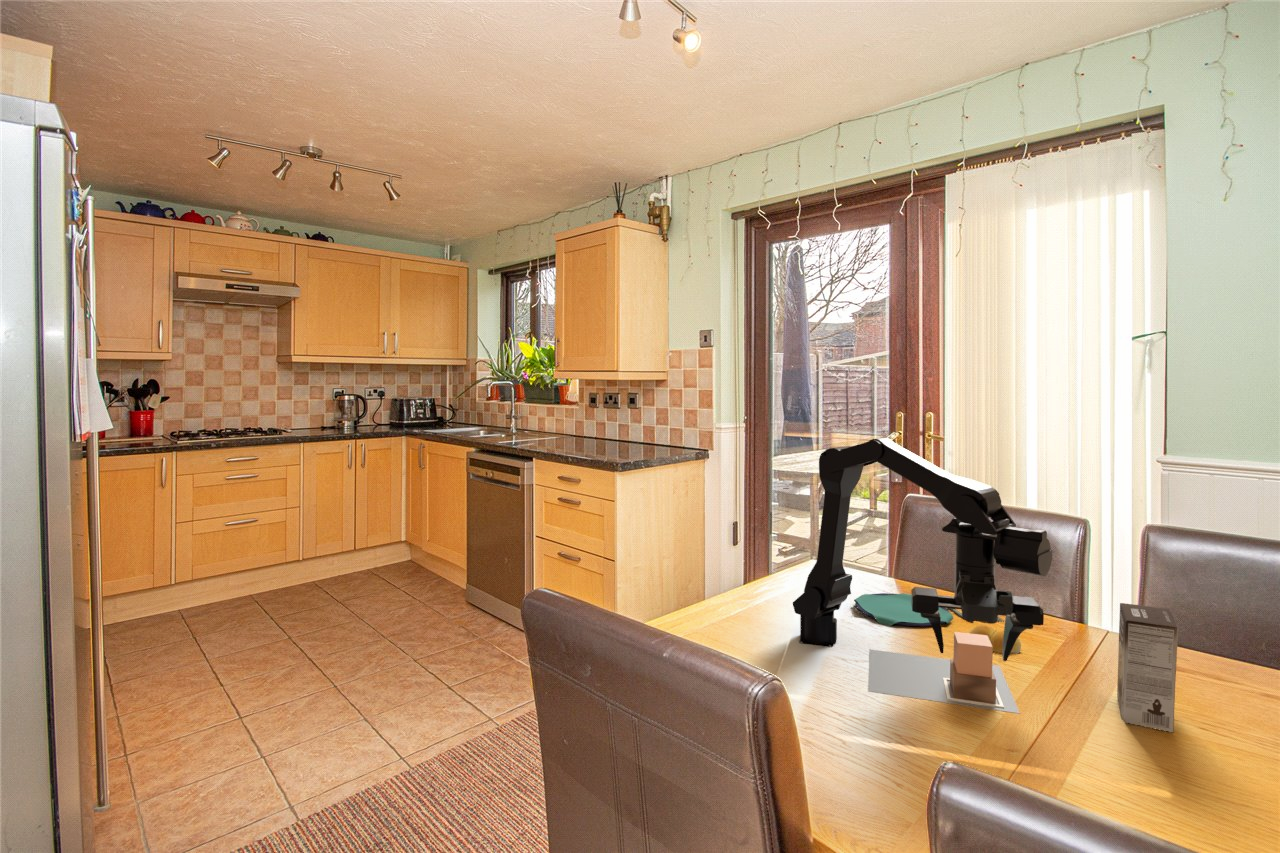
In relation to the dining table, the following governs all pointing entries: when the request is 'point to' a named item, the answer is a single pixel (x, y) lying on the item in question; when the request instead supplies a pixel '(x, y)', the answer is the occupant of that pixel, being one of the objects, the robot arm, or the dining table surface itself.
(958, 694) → the walnut block
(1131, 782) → the dining table surface
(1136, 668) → the coffee box
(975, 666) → the terracotta block
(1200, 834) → the dining table surface
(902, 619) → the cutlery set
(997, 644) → the bread roll
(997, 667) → the slate board
